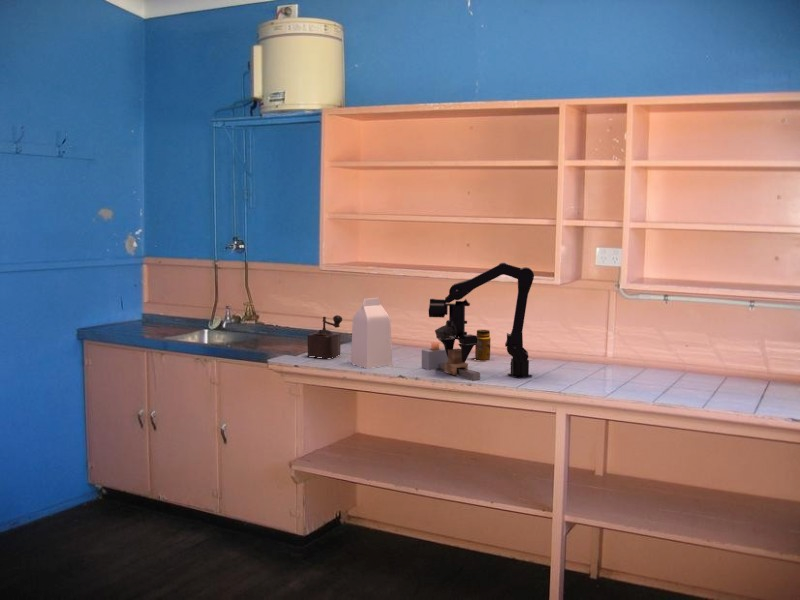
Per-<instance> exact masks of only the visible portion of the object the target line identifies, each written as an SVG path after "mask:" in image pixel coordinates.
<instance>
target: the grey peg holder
mask: <svg viewBox="0 0 800 600" xmlns="http://www.w3.org/2000/svg"><path fill="white" fill-rule="evenodd" d="M445 362H448V357H447V354H446V350H445V347H439V350H438V351H432V350H431V348H427V349H421V368H422V369H424V368H425V369H424V370H427V369H428V371H432V370H431V369H433V370H436V369H437V368H438V364H439V363H445Z"/></svg>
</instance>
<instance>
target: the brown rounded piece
mask: <svg viewBox="0 0 800 600" xmlns="http://www.w3.org/2000/svg"><path fill="white" fill-rule="evenodd" d="M430 345H431V347H430V349H431V350H432V351H438V350H439V348H440V342H431V344H430Z"/></svg>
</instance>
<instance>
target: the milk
mask: <svg viewBox="0 0 800 600" xmlns="http://www.w3.org/2000/svg"><path fill="white" fill-rule="evenodd" d="M351 328H352V329H351V330H352V331H351V349H350V351H351V353H350V364H351V363H352V364H355V365H358V366H357V367H359V366H361V367H360V368H363V367H365V368H364V369H366V368H369V369H373V368H372V367H377V368H379V367H378V366H385V367H387V366H386V365H392V366H393V365H394V363H393V349H392V348H393V347H392V344H393V343H392V327H391V318H390V315H389V314H388V313H387V311H386V309H385V308H384V307H383V305H382V303H381V300H380V298H379V297H369V298H364V299H363V302H362V305H361V306H360V307H359V309H357V311H356V312H355V313H354V315H353V317H352V327H351ZM352 364H351V365H352ZM355 365H354V366H355Z"/></svg>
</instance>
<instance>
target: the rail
mask: <svg viewBox="0 0 800 600" xmlns="http://www.w3.org/2000/svg"><path fill="white" fill-rule="evenodd" d="M435 371H436V372H444V373H446V372H445V363H439V364H438V368H437V369H435ZM455 376H457V377H460V378H464V379H467V380H471V381H479V380H481V372H479V371H475V370H471V369H469V368H468V369H465V368H461V367H460V368H457V375H455Z"/></svg>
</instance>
